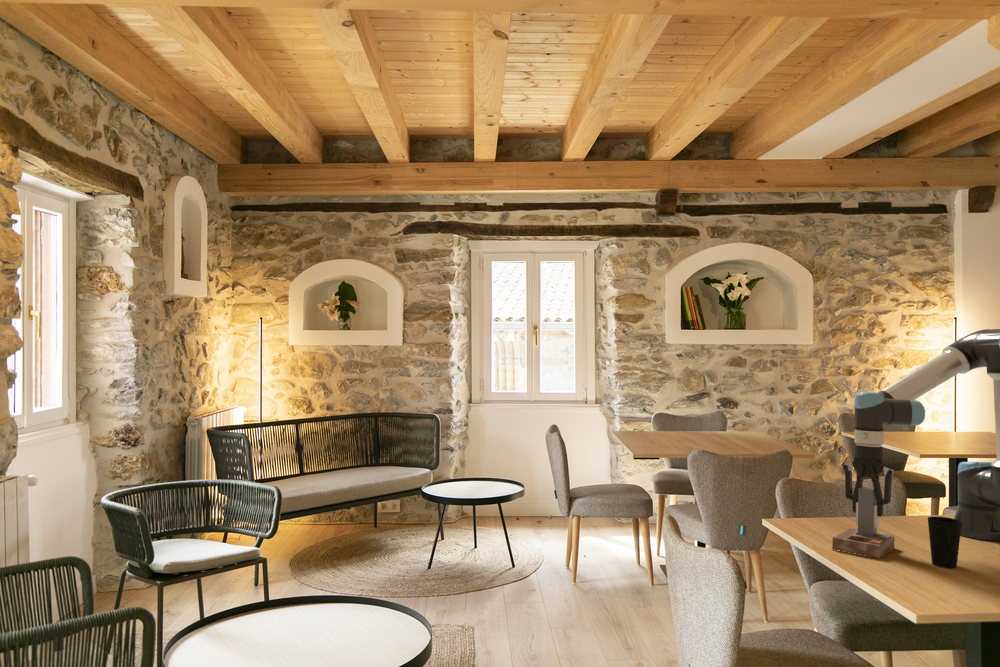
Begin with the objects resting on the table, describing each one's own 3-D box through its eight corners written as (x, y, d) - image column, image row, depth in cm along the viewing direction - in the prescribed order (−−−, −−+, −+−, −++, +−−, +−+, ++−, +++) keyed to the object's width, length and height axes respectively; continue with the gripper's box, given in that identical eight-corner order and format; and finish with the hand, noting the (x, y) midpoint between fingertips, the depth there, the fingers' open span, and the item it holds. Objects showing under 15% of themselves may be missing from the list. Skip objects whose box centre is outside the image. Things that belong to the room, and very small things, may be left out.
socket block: (894, 548, 203) (894, 534, 203) (879, 558, 191) (879, 544, 191) (849, 539, 211) (849, 526, 211) (832, 549, 199) (832, 536, 199)
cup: (950, 570, 181) (950, 524, 182) (921, 562, 188) (921, 517, 189) (967, 567, 185) (967, 521, 185) (938, 559, 192) (938, 515, 192)
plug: (876, 536, 204) (877, 488, 204) (872, 538, 201) (873, 489, 201) (861, 533, 207) (862, 486, 207) (857, 536, 204) (858, 487, 204)
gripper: (833, 442, 208) (832, 522, 207) (898, 449, 196) (896, 533, 195) (841, 441, 213) (840, 518, 213) (904, 447, 202) (903, 529, 201)
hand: (867, 525), depth 204 cm, fingers closed on plug, 4 cm apart
